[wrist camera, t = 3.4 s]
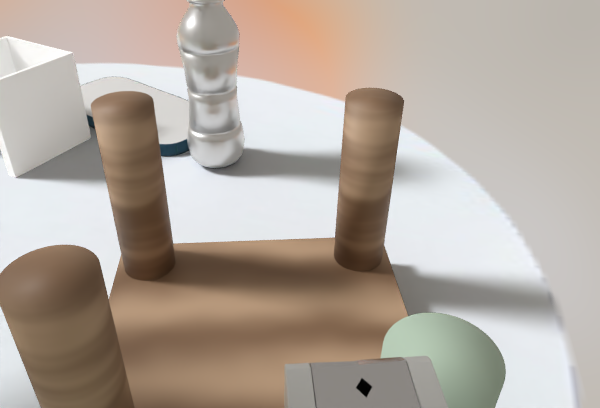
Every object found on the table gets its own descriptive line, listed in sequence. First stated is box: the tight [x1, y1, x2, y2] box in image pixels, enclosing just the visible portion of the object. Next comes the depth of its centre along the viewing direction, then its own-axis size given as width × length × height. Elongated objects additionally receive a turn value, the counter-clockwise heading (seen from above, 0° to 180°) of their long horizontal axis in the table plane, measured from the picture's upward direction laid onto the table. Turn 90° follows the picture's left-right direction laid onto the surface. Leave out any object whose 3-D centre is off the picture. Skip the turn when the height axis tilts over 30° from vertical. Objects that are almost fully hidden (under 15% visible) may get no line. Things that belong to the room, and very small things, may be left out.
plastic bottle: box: [177, 0, 245, 168], centre depth 58 cm, size 6×7×20 cm
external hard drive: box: [80, 77, 189, 156], centre depth 73 cm, size 24×12×2 cm, turn 54°
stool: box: [0, 88, 408, 408], centre depth 35 cm, size 22×22×17 cm
